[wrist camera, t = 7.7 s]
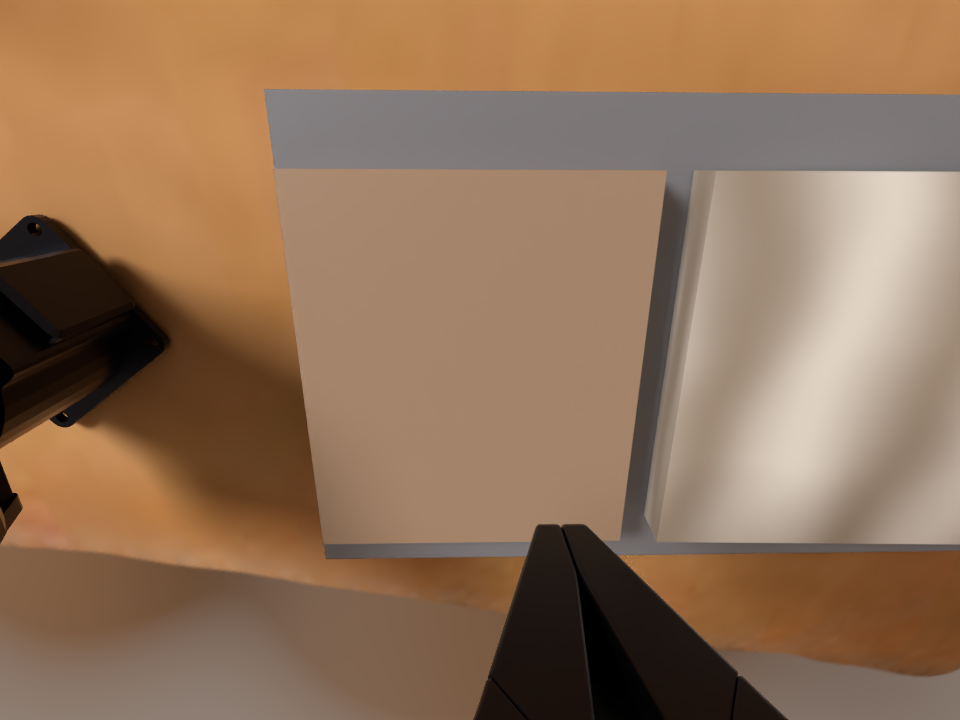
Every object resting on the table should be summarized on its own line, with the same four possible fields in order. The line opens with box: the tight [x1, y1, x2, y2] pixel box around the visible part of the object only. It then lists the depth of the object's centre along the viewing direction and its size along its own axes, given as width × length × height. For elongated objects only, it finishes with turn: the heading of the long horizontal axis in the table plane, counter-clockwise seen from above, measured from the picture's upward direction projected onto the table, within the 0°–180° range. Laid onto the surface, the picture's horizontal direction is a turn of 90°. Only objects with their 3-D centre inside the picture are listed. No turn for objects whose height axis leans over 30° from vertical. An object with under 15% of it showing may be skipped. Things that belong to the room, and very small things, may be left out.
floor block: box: [264, 89, 960, 559], centre depth 18 cm, size 27×16×6 cm, turn 90°
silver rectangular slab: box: [644, 170, 960, 544], centre depth 16 cm, size 14×12×2 cm
